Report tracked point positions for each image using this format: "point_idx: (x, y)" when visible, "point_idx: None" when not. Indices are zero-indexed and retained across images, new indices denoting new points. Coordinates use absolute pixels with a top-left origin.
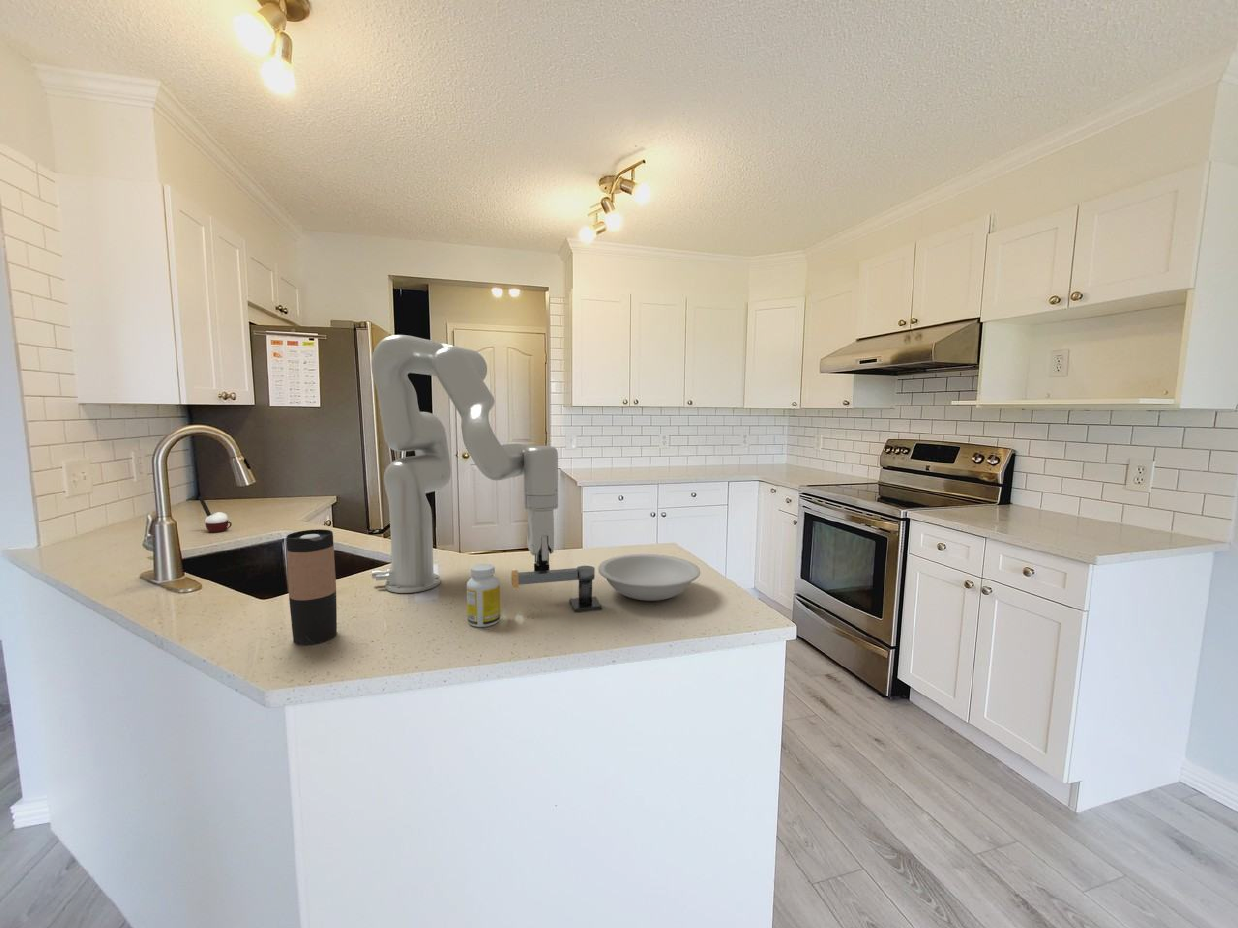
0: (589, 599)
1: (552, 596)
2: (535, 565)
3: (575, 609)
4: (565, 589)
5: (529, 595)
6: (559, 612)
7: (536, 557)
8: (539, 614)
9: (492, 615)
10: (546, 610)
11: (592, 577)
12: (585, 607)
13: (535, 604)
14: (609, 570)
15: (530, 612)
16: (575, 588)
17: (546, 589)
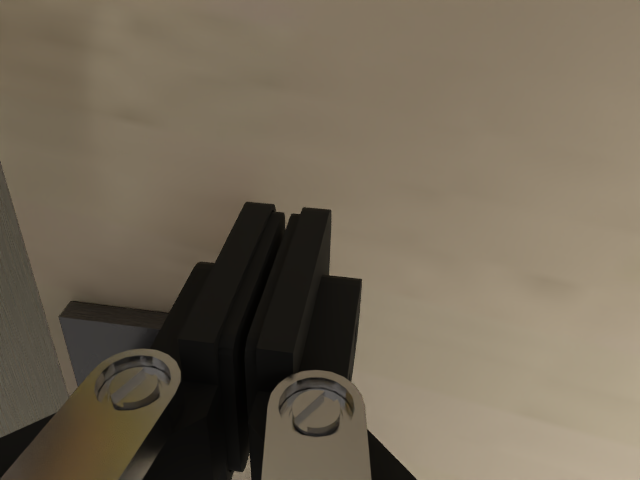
0: None
1: (398, 258)
2: (179, 342)
3: (62, 316)
4: (507, 369)
5: (504, 92)
6: (76, 222)
7: (60, 472)
8: (46, 84)
9: None
10: (120, 151)
11: None
12: (75, 369)
13: (261, 98)
14: None
15: (90, 21)
16: (494, 421)
17: (583, 258)
